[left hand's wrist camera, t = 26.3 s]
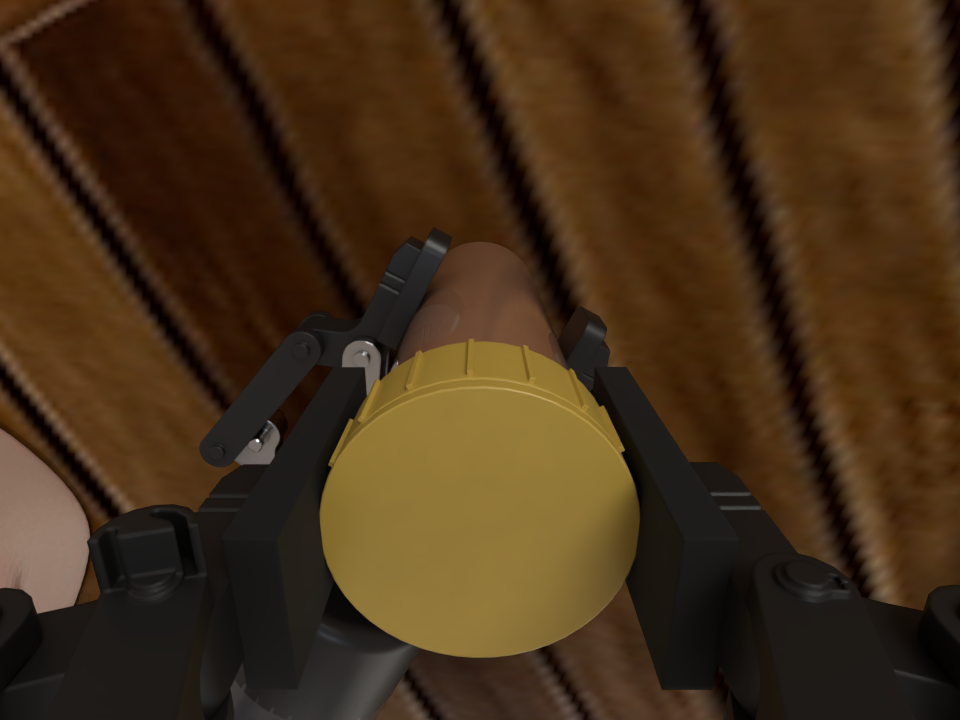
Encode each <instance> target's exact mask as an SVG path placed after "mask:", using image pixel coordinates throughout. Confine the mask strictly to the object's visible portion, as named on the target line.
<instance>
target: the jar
mask: <svg viewBox="0 0 960 720" xmlns="http://www.w3.org/2000/svg"><path fill="white" fill-rule="evenodd" d="M469 339H474V342H484V341H485V342H496V343H505V344H509V345H514V346H518V347H522V346H523V345H526V346H528V348H529V350H531V351H533V352H536V353H539V354H541V355H543V356H545V357H547V358H549V359H551V360H553V361H555V362H556V363H558V364H559V365H561V366H562V367H563V368H565V369H566V370H569V368H568V366H567V363H566V361H565V358H564V355H563V353H562V350H561V348H560V345H559V343H558V340H557V338H556V335H555V333H554V330H553V328H552V325H551V323H550V320H549V318H548V315H547V313H546V310H545V308H544V305H543V303H542V300H541V298H540V295H539V293H538V290H537V287H536V285H535V282H534V280H533V277H532V275H531V273H530V271H529V269H528V268H527V266H526V265H525V263H524V262H523V261H522V260H521V259H520V258H519V257H518V256H517V255H516V254H515V253H513V252H512V251H510V250H509V249H507V248H505V247H503V246H500V245H497V244H494V243H489V242H471V243H466V244H463V245H460V246H457V247H455V248H453V249H451V250H450V251H448V252H447V253H446V254H445V256H444V258H443V260H442V262H441V264H440V266H439V268H438V270H437V272H436V274H435V276H434V278H433V280H432V281H431V283H430V285H429V287H428V289H427V291H426V293H425V295H424V297H423V299H422V301H421V303H420V305H419V307H418V309H417V311H416V313H415V315H414V317H413V318H412V320H411V322H410V324H409V326H408V328H407V330H406V333H405V335H404V338H403V340H402V343H401V345H400V348H399V350H398V353H397V355H396V358H395V360H394V363H393V365H392V368H391V370H390V372H391V371H392V370H394V369H395V368H396V367H397V366H399V365H401V364H402V363H404V362H406V361H407V360H409V359H411V358H412V357H415V354H416V352H418V351H420V350H421V352H422V353H424V352H426V351H428V350H431V349H435V348H438V347H442V346H445V345H450V344H456V343H463V342H468V340H469Z"/></svg>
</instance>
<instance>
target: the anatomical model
mask: <svg viewBox="0 0 960 720" xmlns="http://www.w3.org/2000/svg"><path fill="white" fill-rule="evenodd" d="M89 538H90V531H89V525H88V521H87V518H86V515H85V513H84V511H83V509H82V507H81V505H80V503H79V502H78V500H77V499H76V497H75V496H74V494H73V493H72V492H71V491H70V489H69V488H68V487H67V486H66V485H65V483H64V482H63V481H62V480H61V479H60V478H59V477H58V476H57V475H56V474H55V473H54V472H53V471H52V470H51V469H50V468H49V467H48V466H47V465H46V464H45V463H44V462H43V461H42V460H40V459H39V458H38V457H37V456H36V455H35V454H34V453H32V452H31V451H30V450H29V449H28V448H26V447H25V446H24V445H22V444H21V443H20V442H19V441H17V440H16V439H15V438H14V437H12V436H11V435H9V434H8V433H6V432H5V431H4V430H2V429H1V428H0V588H14V589H22V590H24V591H25V592H26V593H27V594H29V595H30V596H31V597H32V599H33V603H34V606H35V609H36V612H37V614H38V613H42V612H47V611H52V610H56V609H61V608H65V607H70V606H74V603H75V601H76V598H77V596H78V593H79V590H80V587H81V584H82V580H83V577H84V574H85V570H86V565H87V561H88V555H89V548H88V545H87V541H88V539H89Z"/></svg>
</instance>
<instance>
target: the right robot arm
mask: <svg viewBox="0 0 960 720" xmlns="http://www.w3.org/2000/svg"><path fill="white" fill-rule="evenodd" d="M451 240H452V237H451V236H449V235H447V234H445V233H444V232H442V231H440V230H438V229H436V228H434V227H433V229H432V231H431V232H430V234H429V236H428V238H427V240H426V242H425V243H424V242H422V241H420V240H418V239H416V238H414V237H412V236H411V237H410V238H409V239H408V240H407V241H405V242H404V243H403V244H402V245H401V246H400V247H399V248H398V249H397V250H396V252H395V253H394V254H393V256H392V258H391V260H390V262H389V264H388V266H387V269H386V271H385V273H384V275H383V277H382V279H381V281H380V283H379V285H378V287H377V289H376V291H375V294H374V296H373V298H372V300H371V302H370V304H369V306H368V308H367V310H366V312H365V314H364V316H362V317H361V318H358V319H355V320H344V319H336V318H334V317H333V316H332V315H330V314H329V313H326V312H323V311H316V312H313V313H311V314H310V315H308V316H307V317H306V318H305V319H304V320H303V322H302V323H301V324H300V325H299V327H298V328H297V329H295V330H294V331H292V332H291V333H290V334H289V335H288V336H287V337H286V338H285V340H284V341H283V342H282V343H281V344H280V346H279V347H278V348H277V349H276V351H275V352H274V353H273V354H272V356H271V357H270V358H269V359H268V360H267V362H266V363H265V364H264V365H263V367H262V368H261V369H260V370H259V372H258V373H257V374H256V375H255V376H254V378H253V379H252V380H251V381H250V383H249V384H248V385H247V386H246V388H245V389H244V390H243V391H242V392H241V394H240V395H239V396H238V397H237V399H236V400H235V401H234V402H233V403H232V405H231V406H230V407H229V408H228V410H227V411H226V412H225V413H224V415H223V416H222V417H221V418H220V419H219V421H218V422H217V423H216V424H215V426H214V427H213V428H212V429H211V431H210V432H209V433H208V434H207V435H206V437H205V438H204V439H203V440H202V442H201V444H200V453H201V456H202V457H203V459H204V460H205V461H206V462H207V463H209V464H211V465H213V466H216V467H225V466H228V465H230V464H231V463H232V462H233V461H234V460H235V461H236V462H237V463H239V464H240V465H243V464H270V463H271V461H272V460H273V458H274V457H275V455H276V454H277V452H278V451H279V449H280V447H281V446H282V444H283V437H284V435H285V433H286V431H287V429H288V423H287V420H286V418H285V416H284V414H283V412H282V411H281V410H278V408H279V407H280V406H281V404H282V403H283V402H284V401H285V400H286V398H287V397H288V396H289V395H290V394H291V393H292V391H293V390H294V389H295V388H296V387H297V385H298V384H299V383H300V382H301V381H302V379H303V378H304V377H305V376H306V375H307V374H308V372H309V371H310V370H311V369H312V368H313V366H314V365H322V366H330V367H365V375H366V389H367V396H368V394H369V392H370V390H371V387H372V385H373V383H374V381H375V380H376V379H378V380H379V381H381V380H382V379H383V378H384V377H385V376H386V375H387V374H389V363H390V352H391V348H392V349H394V350H397V348H398V346H399V344H400V342H401V340H402V338H403V336H404V334H405V332H406V330H407V328H408V326H409V324H410V322H411V320H412V318H413V317H414V315H415V313H416V311H417V309H418V307H419V305H420V303H421V301H422V299H423V297H424V295H425V293H426V291H427V289H428V287H429V285H430V283H431V281H432V280H433V278H434V276H435V274H436V272H437V270H438V268H439V266H440V264H441V262H442V260H443V258H444V256H445V254H446V252H447V250H448V248H449V246H450V243H451ZM606 332H607V327H606V326H605V324H604V323H603V321H602V320H601V318H600V317H599V316H598V315H596V314H594V313H592V312H590V311H588V310H586V309H585V308H583V307H579V308H578V309H577V310H576V311H575V312H574V314H573V315H572V317H571V318H570V320H569V322H568V323H567V325H566V327H565V328H564V330H563V332H562V333H561V335H560V336H559V338H558V343H559V345H560V348H561V350H562V353H563V355H564V358H565V361H566V363H567V366H568V368H569V369H570V368H571V369H572V370H573V371H574V372H575V374H576V377H577V379H578V380H579V381H580V382H581V383H582V384H583V385H584V386H585V387H586V388H587V390H588V391H589V392H590V391H591V390H592V389H593V384H594V370H595V367H607V364H608V359H609V354H610V350H609V348H608V346H607V345H606V343H605V342H604V338H605V336H606ZM420 649H421V648H419V647H416V646H414V645H411V644H409V643H406V642H404V641H401V640H399V639H398V638H396V637H394V636H392V635H390V634H388V633H387V632H385V631H383V630H382V629H380V628H379V627H378V626H376V625H375V624H373V623H372V622H370V621H369V620H368V619H367V618H366V617H365V616H364V615H362V614H361V613H360V612H359V611H358V610H357V609H356V608H355V607H354V606H353V605H352V604H351V602H350V601H349V600H348V599H347V598H346V597H345V595H344V594H343V592H342V591H341V589H340V588H339V586H338V585H337V583H336V582H335V580H334V582H333V585H332V588H331V591H330V594H329V597H328V600H327V603H326V606H325V609H324V612H323V615H322V618H321V621H320V624H319V627H318V630H317V633H316V636H315V639H314V642H313V645H312V648H311V651H310V654H309V657H308V660H307V663H306V666H305V669H304V672H303V675H302V678H301V681H300V684H299V687H298V690H248V689H247V684H246V678H245V673H244V667H243V662H242V664H241V667H240V669H239V671H238V673H237V675H236V677H235V680H234V682H233V684H232V686H231V688H230V689H231V694H232V699H233V706H234V713H235V714H234V720H375V718H376V717H377V715H378V714H379V712H380V711H381V709H382V708H383V706H384V705H385V703H386V701H387V700H388V698H389V697H390V695H391V694H392V692H393V691H394V689H395V687H396V686H397V684H398V683H399V681H400V680H401V678H402V677H403V675H404V674H405V672H406V671H407V669H408V667H409V666H410V664H411V663H412V661H413V660H414V658H415V657H416V655H417V654H418V652H419V650H420Z"/></svg>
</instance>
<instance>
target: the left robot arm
mask: <svg viewBox="0 0 960 720" xmlns="http://www.w3.org/2000/svg"><path fill="white" fill-rule="evenodd" d="M366 397H367V389H366V375H365V367H333V368H332V370H331V371H330V373H329V375H328V376H327V378H326V379H325V381H324V382H323V384H322V385H321V387H320V388H319V390H318V391H317V393H316V394H315V396H314V397H313V399H312V400H311V402H310V403H309V405H308V406H307V408H306V409H305V411H304V413H303V414H302V416H301V417H300V419H299V420H298V422H297V423H296V425H295V426H294V428H293V429H292V431H291V432H290V434H289V435H288V437H287V438H286V440H285V441H284V443H283V444H282V446H281V447H280V449H279V451H278V452H277V454H276V455H275V457H274V458H273V460H272V461H271V463H270V464H243V465H242V466H240V467H238V468H237V469H235V470H234V471H232V472H231V473H229V474H228V475H226V476H225V477H223V478H222V479H221V480H220V482H219V483H218V484H217V485H216V487H215V488H214V489H213V491H212V492H211V493H210V494H209V498H206V500H205V501H204V502H203V504H202V505H201V506H200V507H199V511H198V512H196V513H194V512H193V511H192V510H191V509H189V508H188V507H184V506H179V505H174V504H169V505H153V506H149V507H145V508H140V509H136V510H133V511H130V512H128V513H126V514H123V515H121V516H118V517H116V518H114V519H112V520H111V521H109V522H108V523H106V524H105V525H103V526H101V527H100V528H98V529H97V530H96V531H95V532H94V534H93V535H92V536H91V537H90V538H89V539H88V541H87V545H88V548H89V552H90V556H91V559H92V563H93V567H94V570H95V574H96V577H97V581H98V585H99V588H100V592H101V594H100V596H99V598H98V600H95V601H91V602H88V603H84V604H79V605H75V606H70V607H65V608H61V609H56V610H52V611H47V612H42V613H38V614H37V612H36V609H35V606H34V603H33V599H32V597H31V596H30V595H29V594H27V593H26V592H25V591H24V590H22V589H14V588H0V720H234V714H235V713H234V706H233V699H232V694H231V689H230V688H231V686H232V684H233V682H234V680H235V677H236V675H237V673H238V671H239V669H240V667H241V664H242V662H243V667H244V673H245V678H246V684H247V689H248V690H298V687H299V684H300V681H301V678H302V675H303V672H304V669H305V666H306V663H307V660H308V657H309V654H310V651H311V648H312V645H313V642H314V639H315V636H316V633H317V630H318V627H319V624H320V621H321V618H322V615H323V612H324V609H325V606H326V603H327V600H328V597H329V594H330V591H331V588H332V585H333V582H334V578H333V576H332V574H331V572H330V570H329V568H328V566H327V563H326V560H325V556H324V552H323V544H322V535H321V526H320V515H319V509H320V503H321V497H322V492H323V489H324V486H325V483H326V480H327V477H328V475H329V472H330V470H331V468H332V467H330V466H328V464H329V461H330V459H331V457H332V455H333V453H334V451H335V449H336V447H337V445H338V443H339V440H340V438H341V436H342V434H343V432H344V430H345V428H346V426H347V424H348V422H349V419H353V420H354V418H355V416H356V414H357V412H358V410H359V408H360V406H361V405H362V403H363V401H364V400H365V399H366ZM593 397H594V399H595V400H596V402H597V404H598V405H599V407H601V406H604V407H605V409H606V411H607V413H608V415H609V418H610V420H611V422H612V424H613V426H614V428H615V430H616V432H617V434H618V437H619V439H620V441H621V443H622V445H623V447H624V449H625V451H623V452H621V454H622V456H623V458H624V460H625V462H626V465H627V467H628V469H629V471H630V474H631V476H632V479H633V481H634V483H635V486H636V490H637V495H638V499H639V503H640V523H639V533H638V542H637V550H636V557H635V559H634V562H633V564H632V567H631V569H630V572H629V574H628V576H627V578H626V579H625V580H626V583H627V586H628V589H629V592H630V595H631V598H632V601H633V604H634V607H635V610H636V613H637V616H638V619H639V622H640V625H641V628H642V631H643V634H644V637H645V640H646V643H647V646H648V649H649V652H650V655H651V658H652V661H653V664H654V667H655V670H656V673H657V676H658V679H659V682H660V685H661V688H662V690H712V687H713V682H714V676H715V671H716V665H717V660H718V662H719V664H720V666H721V669H722V671H723V673H724V675H725V677H726V680H727V682H728V684H729V686H730V689H729V694H728V699H727V704H726V709H725V714H724V719H723V720H960V586H959V585H949V586H941V587H937V588H936V589H935V590H933V591H932V592H931V593H929V595H928V598H927V601H926V604H925V607H924V610H923V611H921V610H916V609H911V608H907V607H902V606H897V605H893V604H888V603H883V602H879V601H874V600H871V599H867V598H864V597H861V595H860V593H859V591H858V590H857V588H856V587H855V586H854V584H853V583H852V582H851V580H850V579H849V578H848V577H846V576H845V575H844V574H842V573H841V572H840V571H838V570H837V569H836V568H834V567H833V566H831V565H829V564H826V563H824V562H822V561H820V560H818V559H816V558H813V557H809V556H806V555H802V554H798V553H797V552H796V550H795V549H794V548H793V546H792V545H791V544H790V543H789V541H788V540H787V539H786V537H785V536H784V535H783V534H782V532H781V531H780V530H779V528H778V527H777V526H776V525H775V523H774V522H773V521H772V519H771V518H770V517H769V516H768V514H767V513H766V512H765V510H762V508H761V505H760V504H759V503H758V501H757V500H756V499H755V498H754V496H751V492H750V491H749V490H748V489H747V487H746V486H745V485H744V483H743V482H742V481H741V480H740V478H739V477H738V476H737V475H735V474H734V473H732V472H731V471H729V470H727V469H726V468H724V467H723V466H721V465H720V464H718V463H717V462H688V460H687V459H686V457H685V456H684V454H683V453H682V451H681V450H680V448H679V447H678V445H677V443H676V442H675V440H674V439H673V437H672V436H671V434H670V433H669V431H668V430H667V428H666V427H665V425H664V424H663V422H662V421H661V419H660V418H659V416H658V415H657V413H656V412H655V410H654V409H653V407H652V405H651V404H650V402H649V401H648V399H647V398H646V396H645V395H644V393H643V392H642V390H641V389H640V387H639V386H638V384H637V383H636V381H635V380H634V378H633V377H632V375H631V374H630V372H629V370H628V369H627V367H595V370H594V384H593Z"/></svg>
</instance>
